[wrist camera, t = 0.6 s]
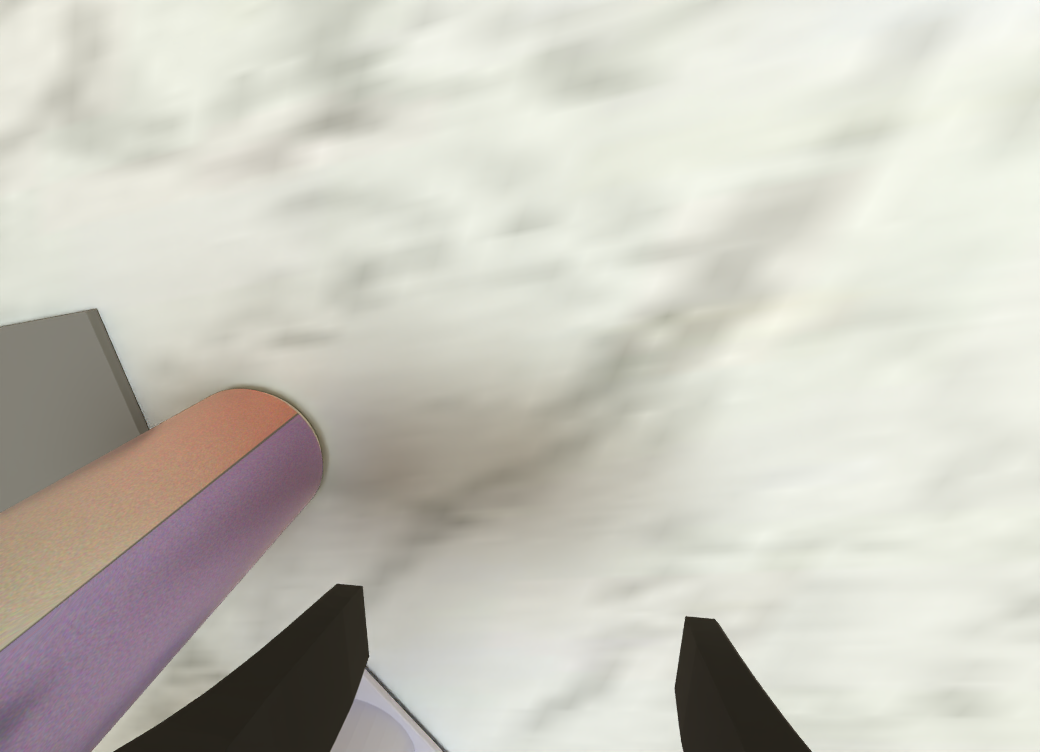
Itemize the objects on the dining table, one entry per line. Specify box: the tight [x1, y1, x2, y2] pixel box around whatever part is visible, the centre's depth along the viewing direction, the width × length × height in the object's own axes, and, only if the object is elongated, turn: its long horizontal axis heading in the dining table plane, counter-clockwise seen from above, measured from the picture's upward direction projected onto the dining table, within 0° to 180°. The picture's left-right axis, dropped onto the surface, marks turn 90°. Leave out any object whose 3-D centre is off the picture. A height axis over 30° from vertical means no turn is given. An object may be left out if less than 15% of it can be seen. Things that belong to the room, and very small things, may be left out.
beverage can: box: [0, 389, 323, 752], centre depth 16 cm, size 6×6×15 cm
